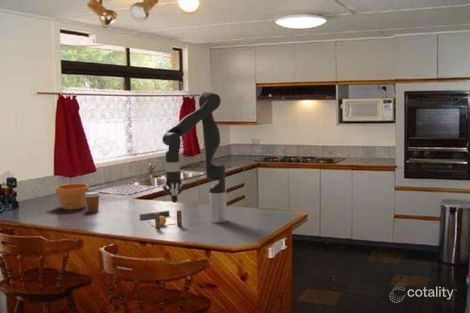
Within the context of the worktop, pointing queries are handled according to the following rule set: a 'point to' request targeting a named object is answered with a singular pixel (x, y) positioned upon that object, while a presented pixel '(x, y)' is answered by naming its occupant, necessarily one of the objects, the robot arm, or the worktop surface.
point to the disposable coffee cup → (92, 200)
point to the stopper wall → (153, 214)
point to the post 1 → (157, 221)
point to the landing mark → (169, 222)
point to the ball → (162, 220)
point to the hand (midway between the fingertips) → (174, 202)
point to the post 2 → (179, 218)
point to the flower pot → (72, 195)
